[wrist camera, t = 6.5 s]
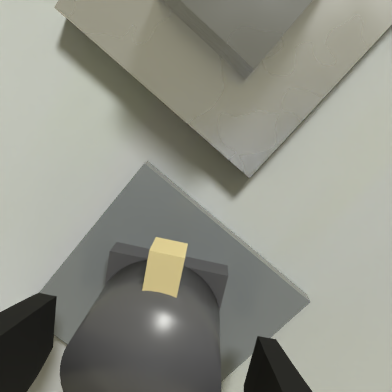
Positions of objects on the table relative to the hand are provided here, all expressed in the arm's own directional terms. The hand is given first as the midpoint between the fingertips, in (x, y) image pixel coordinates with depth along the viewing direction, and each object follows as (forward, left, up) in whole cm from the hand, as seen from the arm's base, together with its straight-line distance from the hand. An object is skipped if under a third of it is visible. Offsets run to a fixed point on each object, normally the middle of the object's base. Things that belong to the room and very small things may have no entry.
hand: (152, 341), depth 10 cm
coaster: (0, 0, -2) cm, 2 cm away
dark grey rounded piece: (0, 0, -2) cm, 2 cm away
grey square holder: (+5, -10, -2) cm, 11 cm away
